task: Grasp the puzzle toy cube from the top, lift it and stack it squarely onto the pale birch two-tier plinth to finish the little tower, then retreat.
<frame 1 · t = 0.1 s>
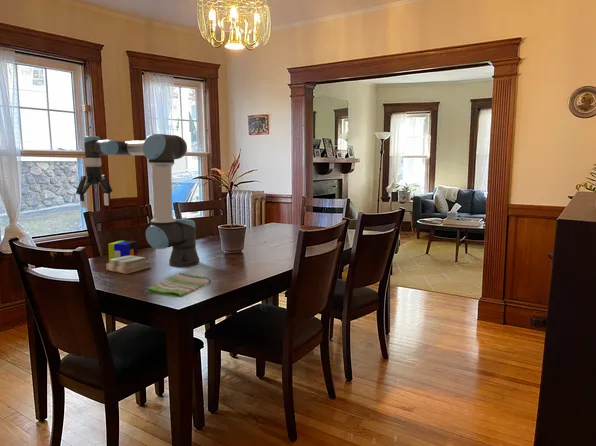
hand: (95, 206, 234), 28 cm above the table, tool pointing down, fingers open, 13 cm apart
puzzle toy: (123, 261, 230), on the table
dish towel: (180, 288, 184), on the table
plinth: (128, 268, 214), on the table
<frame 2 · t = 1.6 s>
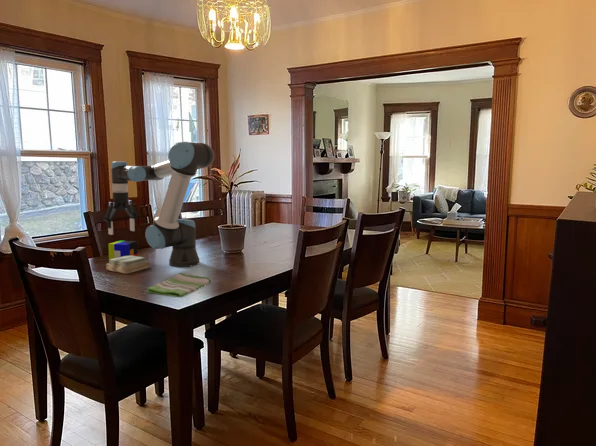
hand: (121, 232, 228), 15 cm above the table, tool pointing down, fingers open, 13 cm apart
nothing on the table moved.
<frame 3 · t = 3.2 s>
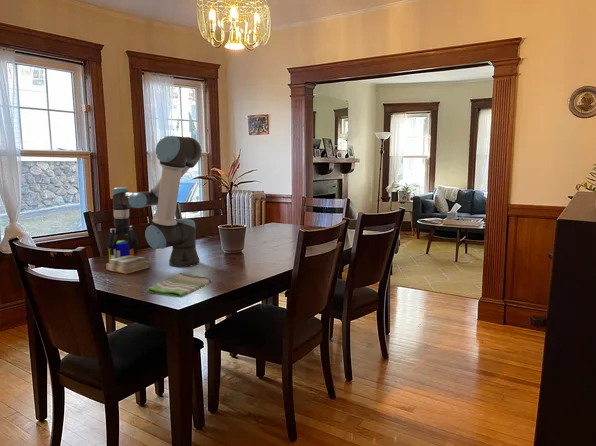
hand: (123, 258, 230), 1 cm above the table, tool pointing down, fingers closed on puzzle toy, 11 cm apart
puzzle toy: (123, 261, 230), on the table, touching gripper
everything else where it was.
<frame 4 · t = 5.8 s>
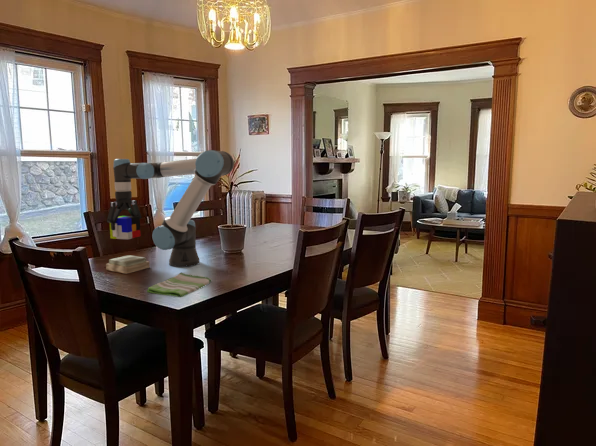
hand: (125, 234, 218), 16 cm above the table, tool pointing down, fingers closed on puzzle toy, 11 cm apart
puzzle toy: (125, 237, 218), point 14 cm above the table, touching gripper
everything else where it was.
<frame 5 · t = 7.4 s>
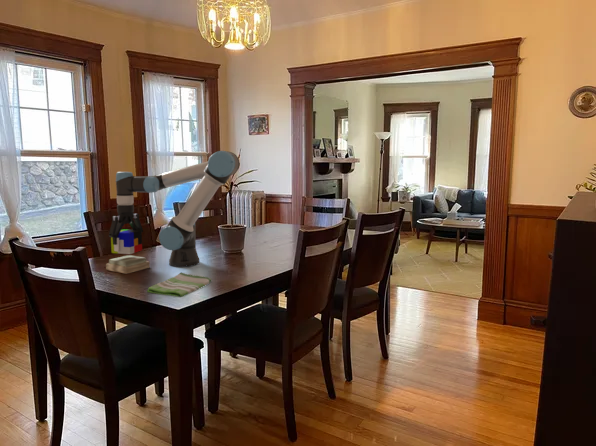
hand: (127, 249, 213), 10 cm above the table, tool pointing down, fingers closed on puzzle toy, 11 cm apart
puzzle toy: (127, 251, 213), point 8 cm above the table, touching gripper
everything else where it was.
when the fingers open (8 cm above the table, at t = 8.4 s): puzzle toy drops 1 cm, resting on plinth.
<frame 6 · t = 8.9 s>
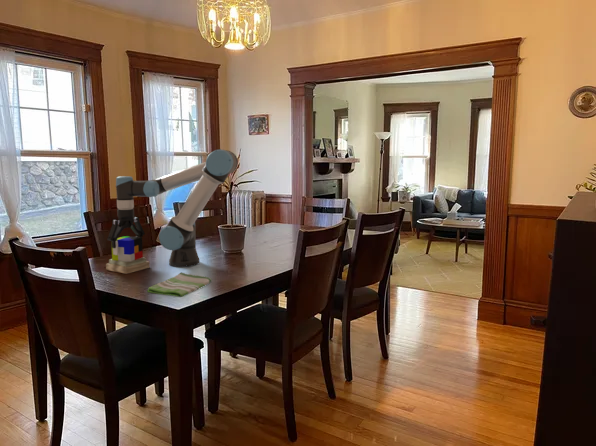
hand: (127, 252, 213), 8 cm above the table, tool pointing down, fingers open, 13 cm apart
puzzle toy: (127, 259, 214), point 5 cm above the table, touching plinth
everything else where it was.
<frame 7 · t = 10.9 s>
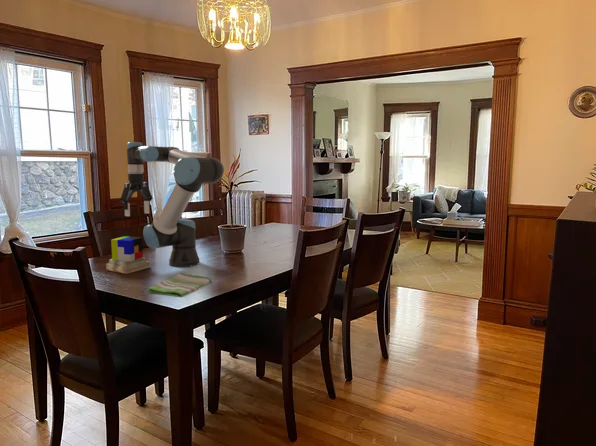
hand: (137, 214, 226), 25 cm above the table, tool pointing down, fingers open, 13 cm apart
nothing on the table moved.
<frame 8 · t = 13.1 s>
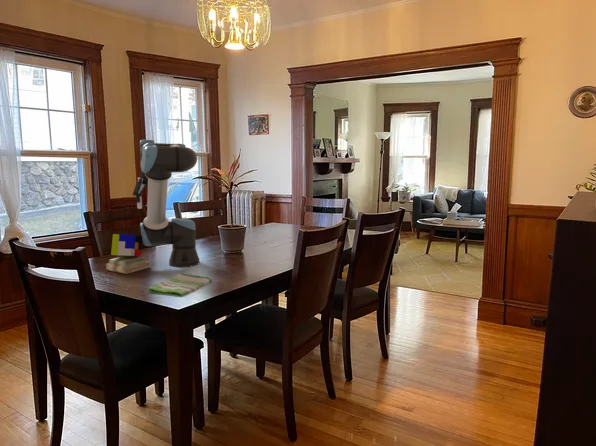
hand: (149, 207, 242), 27 cm above the table, tool pointing down, fingers open, 13 cm apart
puzzle toy: (126, 256, 214), point 6 cm above the table, touching arm, plinth
everything else where it was.
at the end: puzzle toy 1.1 cm from the plinth (horizontally); puzzle toy touching arm, plinth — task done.
